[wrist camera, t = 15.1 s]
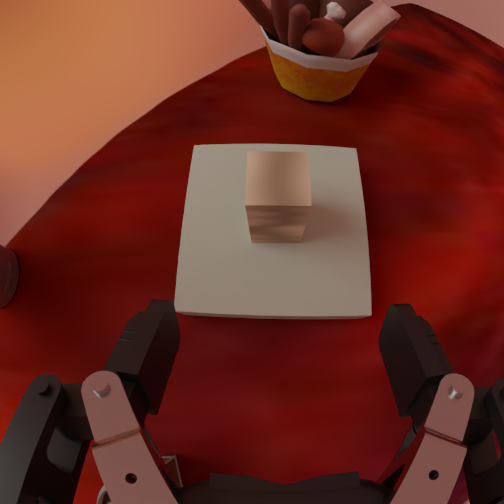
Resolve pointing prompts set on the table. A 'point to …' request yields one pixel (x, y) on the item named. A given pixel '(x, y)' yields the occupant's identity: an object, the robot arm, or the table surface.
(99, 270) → the table surface
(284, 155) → the birch block
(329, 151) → the base board
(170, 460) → the food container
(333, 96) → the bucket of meat
